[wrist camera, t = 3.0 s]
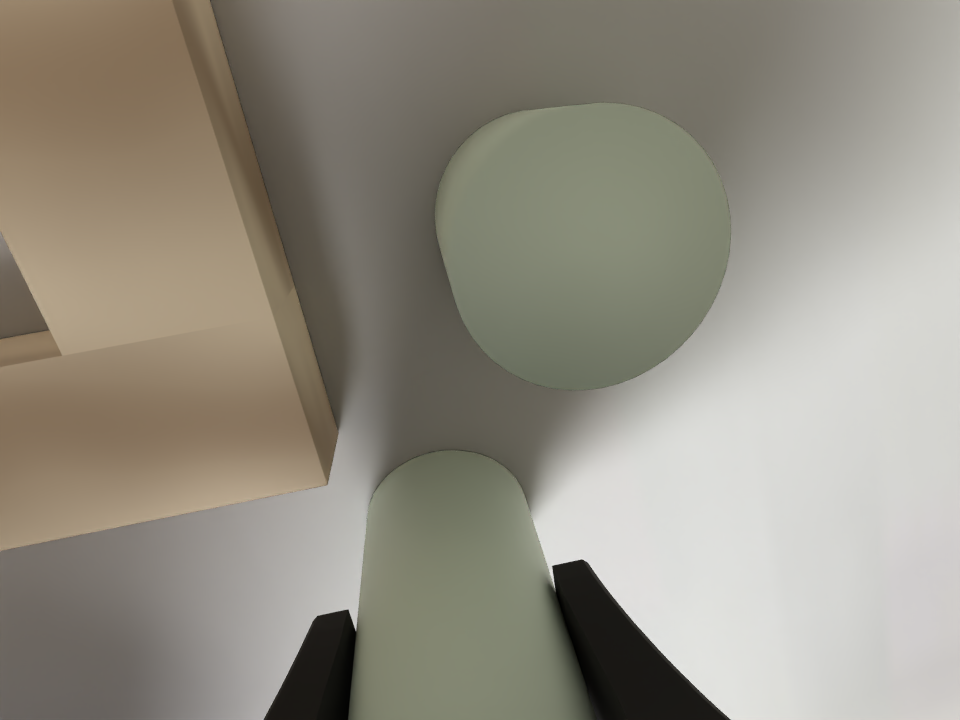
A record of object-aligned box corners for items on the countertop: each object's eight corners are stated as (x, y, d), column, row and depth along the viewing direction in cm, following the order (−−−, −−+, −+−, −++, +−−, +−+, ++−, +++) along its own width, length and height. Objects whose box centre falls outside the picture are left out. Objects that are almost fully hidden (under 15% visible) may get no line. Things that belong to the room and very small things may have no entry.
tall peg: (535, 562, 15) (660, 984, 8) (386, 594, 15) (368, 1059, 7) (516, 435, 13) (652, 813, 6) (349, 468, 13) (280, 903, 6)
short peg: (631, 292, 12) (726, 363, 9) (453, 325, 12) (474, 412, 8) (622, 93, 11) (735, 78, 7) (416, 128, 11) (422, 130, 7)
